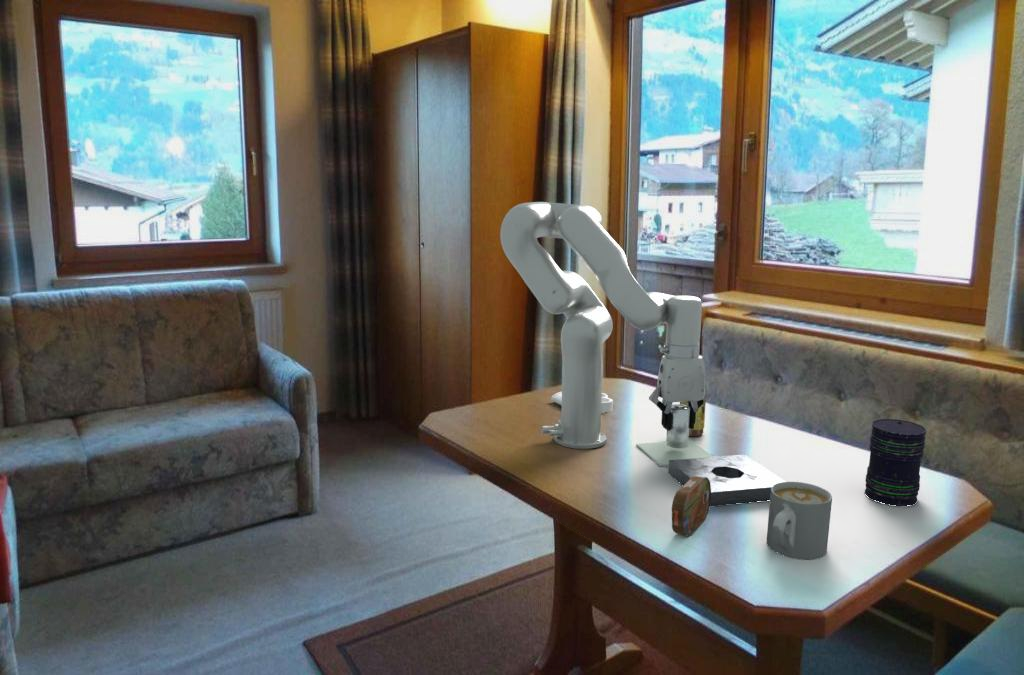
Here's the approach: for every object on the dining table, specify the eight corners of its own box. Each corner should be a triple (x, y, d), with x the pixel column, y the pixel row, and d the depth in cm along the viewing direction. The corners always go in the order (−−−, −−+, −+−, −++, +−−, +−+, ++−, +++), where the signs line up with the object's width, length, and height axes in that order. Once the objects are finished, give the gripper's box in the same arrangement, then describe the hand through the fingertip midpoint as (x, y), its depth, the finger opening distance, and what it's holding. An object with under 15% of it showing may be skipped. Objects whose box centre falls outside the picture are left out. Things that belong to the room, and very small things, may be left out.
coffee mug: (789, 528, 145) (794, 477, 143) (838, 550, 137) (844, 495, 135) (741, 547, 138) (745, 493, 136) (790, 570, 130) (795, 513, 128)
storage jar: (916, 511, 154) (925, 437, 151) (861, 500, 158) (869, 429, 155) (918, 493, 162) (927, 423, 159) (866, 484, 167) (874, 416, 164)
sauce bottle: (706, 437, 195) (711, 359, 191) (680, 437, 195) (685, 358, 191) (700, 429, 201) (705, 353, 197) (675, 428, 201) (680, 352, 197)
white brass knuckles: (544, 401, 226) (587, 395, 233) (579, 418, 210) (624, 411, 217) (545, 389, 225) (588, 383, 232) (580, 406, 209) (625, 399, 216)
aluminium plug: (671, 449, 180) (673, 410, 178) (662, 441, 185) (664, 403, 183) (692, 447, 181) (694, 408, 179) (682, 440, 186) (684, 402, 184)
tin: (684, 544, 139) (686, 498, 137) (666, 539, 140) (669, 494, 139) (711, 513, 151) (714, 472, 150) (695, 509, 153) (698, 468, 151)
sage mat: (660, 466, 175) (660, 464, 175) (636, 445, 188) (636, 443, 188) (718, 462, 178) (718, 460, 178) (690, 441, 192) (690, 439, 191)
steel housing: (707, 507, 154) (708, 492, 153) (668, 473, 171) (668, 460, 171) (789, 499, 158) (790, 485, 158) (743, 467, 175) (744, 454, 175)
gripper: (653, 356, 173) (650, 435, 176) (724, 352, 177) (719, 430, 180) (640, 348, 180) (637, 425, 184) (709, 345, 184) (704, 420, 187)
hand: (678, 427), depth 182 cm, fingers closed on aluminium plug, 5 cm apart
